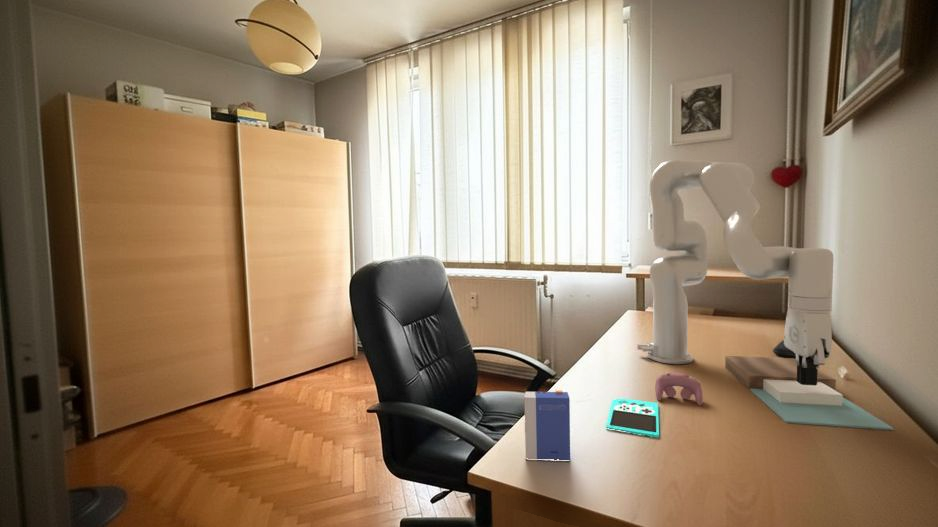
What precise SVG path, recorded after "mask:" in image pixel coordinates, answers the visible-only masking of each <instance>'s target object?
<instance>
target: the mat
mask: <svg viewBox="0 0 938 527" xmlns="http://www.w3.org/2000/svg"><path fill="white" fill-rule="evenodd" d="M749 390H750V391H751V393H752V394H753V395H754V396H756V397H757V398H758V399H759V400H760V401H761V402H763V404H765V405H766V406H767V407H768V408H770V410H771V411H773V412H774V413H775V414H776V415H777V416H778V417H780V419H781V420H782V421H784V422H785V423H787V424H798V425H799V424H800V425H814V426H815V425H816V426H826V427H827V426H828V427H829V426H830V427H840V428H841V427H842V428H857V429H858V428H859V429H869V428H870V430H872V429H873V430H883V431H885V430H886V431H894V430H895V429H894V427H892V426H890V425H889V424H888V423H886V422H885V421H882V420H881V419H879V418H877V417H876V415H875V416H874V415H873V414H872V413H870V412H868V411H866V410H865V409H863V408H862V407H860V406H859V405H857V404H855V403H853V402H852V401H850V400H849V399H847V398H845V397H844V396H843V404H842V406H840V405H821V404H803V403H785V402H779V401H778V400H777V399H775V398H774V397H773V396H771V395H770V394H769V393H768V392H766V391H765V390H764V389H752V388H750V389H749Z"/></svg>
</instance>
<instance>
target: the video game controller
mask: <svg viewBox="0 0 938 527" xmlns="http://www.w3.org/2000/svg"><path fill="white" fill-rule="evenodd" d="M674 387H681V388H682V389H681V390H680V392H679V394H680V396H681V398H682V399H683V400H689V399H690V398H691V397H692V395H693V396H694V398H695V401H696V404H697V405H698V406H702V405H703V390H702V385H701V383H700V382H699V380H698V379H696V378H695V377H693V376H691V375H687V374H684V373H675V372H670V373H663V374H661V375H659V376H658V377H657V378H656V380H655V387H654V388H655V397H656V400H657V401H658V400H660V401H661V400H662V398H663V396H664V395H663V394H664V393H665V395H666V396H667V397H668V398H674V397H676V395H677V391H676V389H675V388H674Z"/></svg>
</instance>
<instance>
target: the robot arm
mask: <svg viewBox="0 0 938 527" xmlns="http://www.w3.org/2000/svg"><path fill="white" fill-rule="evenodd" d="M754 183H755V175H754V172H753V170H752V169H751V168H750V167H749V166H748V165H746V164H744V163H741V162H725V161H724V162H719V161H709V160H695V159H684V158H683V159H670V160H667V161H664V162H662V163H660V164H659V165H658V166H657V167H656V168H655V170H654V171H653V173H652V175H651V177H650V180H649V194H650V195H649V196H650V199H651V205H652V229H653V231H652V232H653V235H652V236H653V243H654V246H655V247H656V249H657V250H659V251H662V252H668V253H669V252H677V255H667V256H662V257H659V258H657V259H655V260H654V261H653V262H652V263H651V266H650V269H649V278H650V283H651V288H652V290H651V291H652V306H653V307H652V340H650V343H647V344H643V343H637V344H636V350H637V351H642V352H644V353H645V352H647V357H648V358H649V359H650V360H652V361H655V362H659V363H663V364H671V365H685V364H690V363H692V362H693V361H694V356H693V355H692V354H691V353H689V352H688V326H689V325H688V321H689V318H688V317H689V316H688V312H689V308H688V305H689V304H688V297H687V295H686V293H685V291H684V288H683V287H688V286H694V285H699V284H701V283H702V282H703V281H704V280H705V278H706V276H707V274H708V273H707V272H708V252H707V251H708V249H707V248H708V247H707V244H708V243H707V234H706V231H705V229H704V228H703V225H701V224H700V223H699V222H698V221H695V220H693V219H685V214H684V211H685V210H684V209H685V208H684V207H685V206H684V202H683V200H682V198H681V196H680V194H679V193H678V191H679V190H694V191H695V190H697V191H698V190H699V191H703V192H704V193H705V194H706V197H707V198H708V200H709V202H710V203H711V204H712V206H713V207H714V209H715V211H716V212H717V213H718V216H719V217H720V218H721V220H722V222H723V231H722V232H723V243H724V245H725V249H726V251H727V253H728V255H729V256H730V258H731V260H732V261H733V263H734V264H735V266H736V268H737V269H738V270H739V271H740V272H741V273H742V274H743V275H744V276H746V277H747V278H749V279H751V280H757V281H760V280H761V281H762V280H769V279H781V278H788V284H787V285H788V289H787V293H788V295H787V312H786V317H785V325H784V335H783V340H784V345H785V346H786V347H787V348H788V349H790V350H791V351H793V352H794V353H795V355H796V363H797V382H798V383H800V384H801V385H817V371H818V370H819V369H820V365H821V366H825V364H826V360H825V359H829V358H830V356H832V355H831V354H832V346H833V344H832V343H833V342H832V341H833V339H832V338H833V336H832V322H831V320H832V319H831V314H830V313H832V312H833V310H832V309H833V284H834V282H833V279H834V254H833V252H832V250H831V249H828V248H822V247H821V248H820V247H818V248H816V247H805V248H804V247H802V248H801V247H800V248H798V247H791V246H782V245H780V246H763V245H762V244H761V242H760V240H759V239H758V238H757V236H756V235H755V232H754V230H753V228H752V220H753V217H754V216H756V215H757V214H758V212H759V210H760V208H761V206H760V203H759V202H758V201H757V199H756V198H755V197H754V194H752V192H751V191H750V190H751V188H752V187H753V185H754Z"/></svg>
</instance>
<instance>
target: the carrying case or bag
mask: <svg viewBox="0 0 938 527" xmlns="http://www.w3.org/2000/svg"><path fill="white" fill-rule="evenodd" d="M772 352H773V354H774V355H775V354H776V355H775V356H777V355H778V356H777V357H781V356H782V357H781V358H795V359H796V355H795V353H794V352H793V351H791V350H790V349H788V348H787V347H786V346H785V345H784V339H782V340H781V341H780V342H779V343H778V344H777V345H776V346H775V347H774V348H773V349H772Z"/></svg>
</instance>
